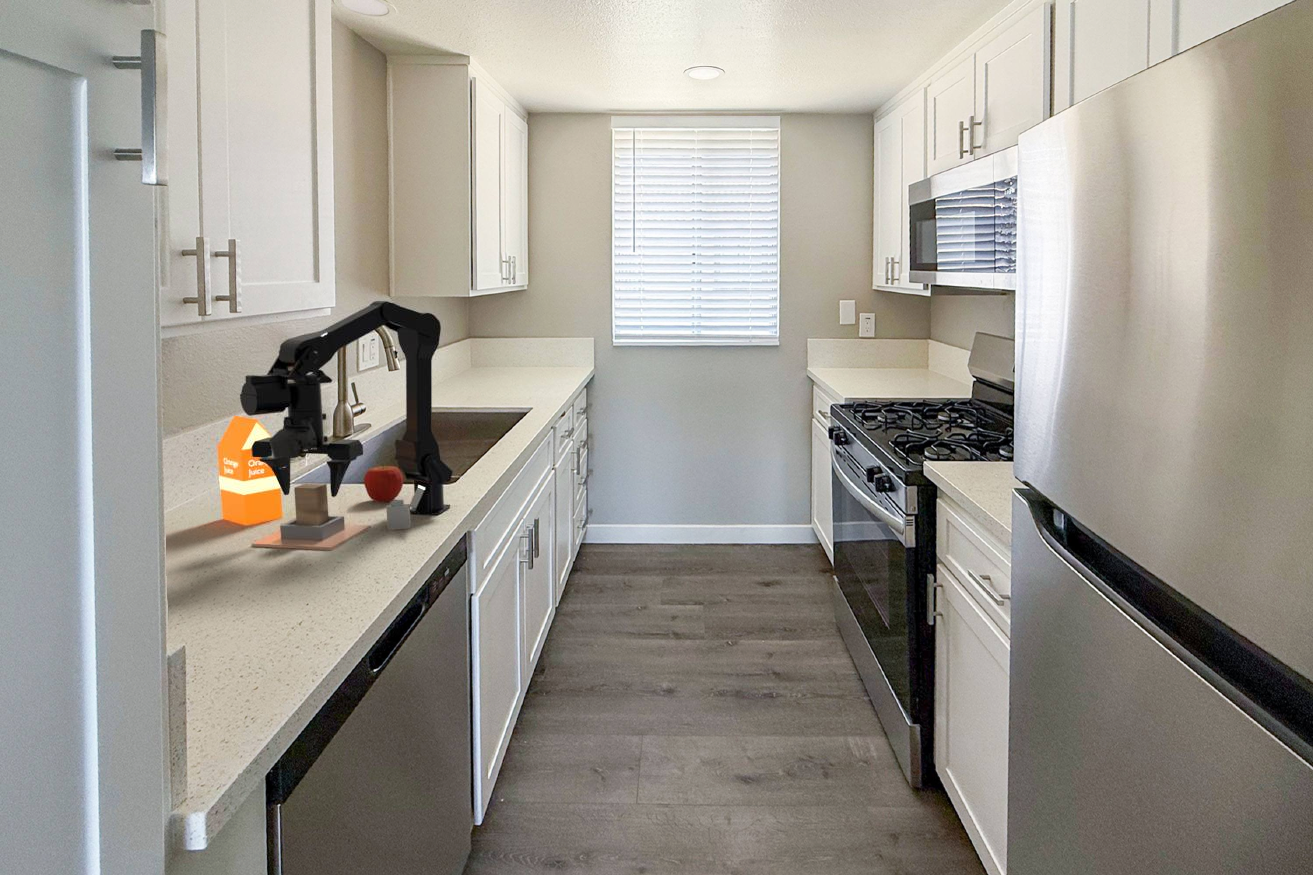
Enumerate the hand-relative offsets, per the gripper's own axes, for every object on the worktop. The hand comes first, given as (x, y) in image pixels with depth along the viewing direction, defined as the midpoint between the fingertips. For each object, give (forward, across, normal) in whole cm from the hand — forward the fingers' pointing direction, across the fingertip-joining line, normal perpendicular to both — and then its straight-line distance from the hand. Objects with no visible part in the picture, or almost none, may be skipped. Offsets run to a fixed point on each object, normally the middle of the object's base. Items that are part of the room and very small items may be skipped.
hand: (310, 495), depth 169 cm
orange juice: (+8, -19, +11) cm, 23 cm away
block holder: (+8, 0, 0) cm, 8 cm away
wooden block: (+7, 0, 0) cm, 7 cm away
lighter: (+8, +14, +9) cm, 19 cm away
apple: (+8, 0, +29) cm, 30 cm away
